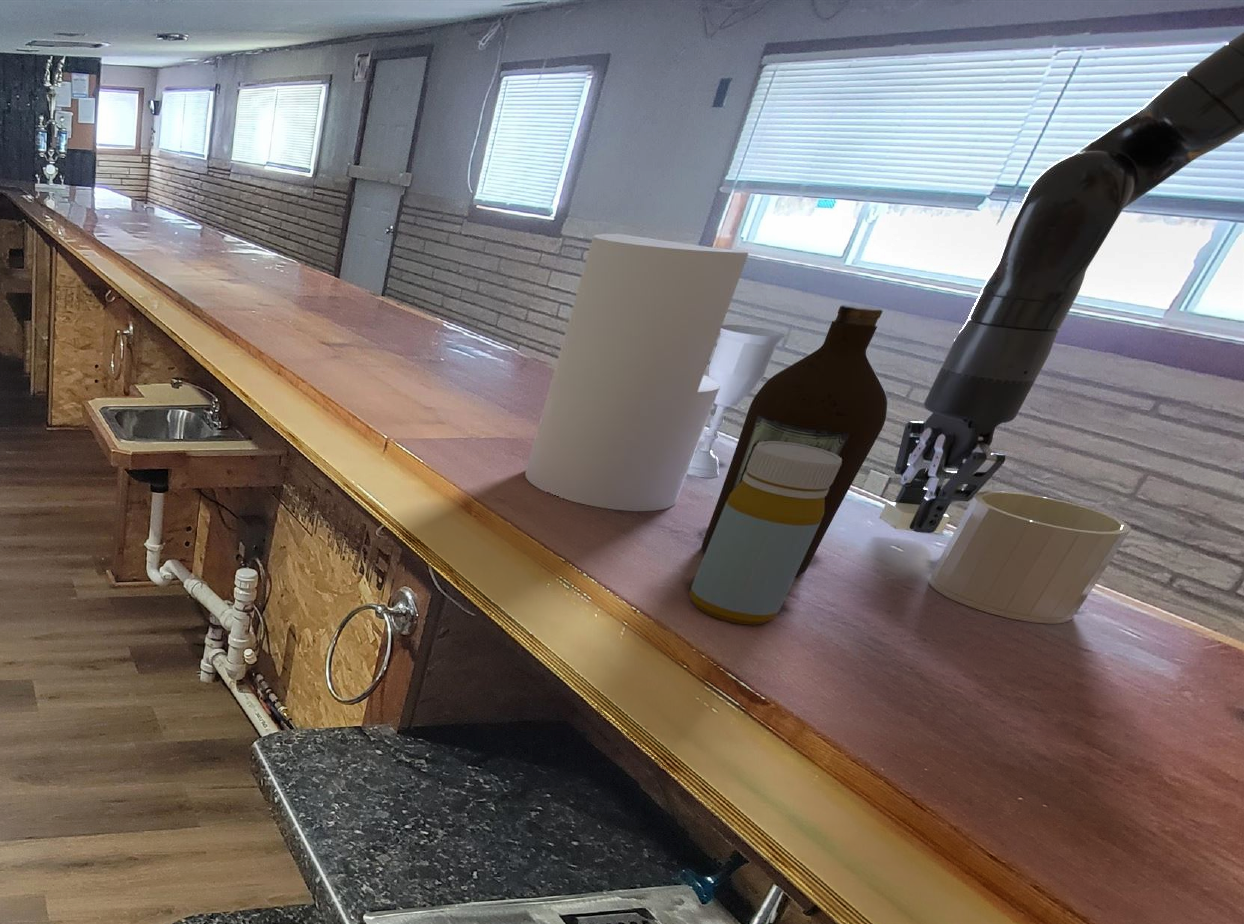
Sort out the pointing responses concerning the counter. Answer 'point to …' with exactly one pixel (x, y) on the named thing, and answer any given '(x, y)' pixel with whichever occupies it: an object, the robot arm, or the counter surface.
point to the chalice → (733, 381)
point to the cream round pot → (1027, 556)
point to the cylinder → (634, 373)
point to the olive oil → (818, 411)
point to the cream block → (905, 516)
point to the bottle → (764, 532)
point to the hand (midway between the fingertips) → (910, 523)
